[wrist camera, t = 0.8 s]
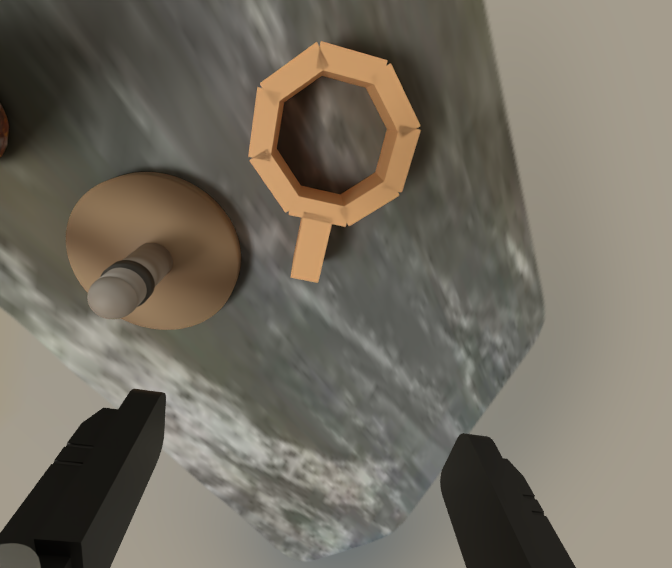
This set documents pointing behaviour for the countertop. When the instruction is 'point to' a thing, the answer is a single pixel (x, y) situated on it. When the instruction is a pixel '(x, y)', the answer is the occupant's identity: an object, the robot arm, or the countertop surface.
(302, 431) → the countertop surface
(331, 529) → the countertop surface
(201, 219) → the round wooden base
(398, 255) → the countertop surface
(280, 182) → the ring
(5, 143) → the sauce bottle
